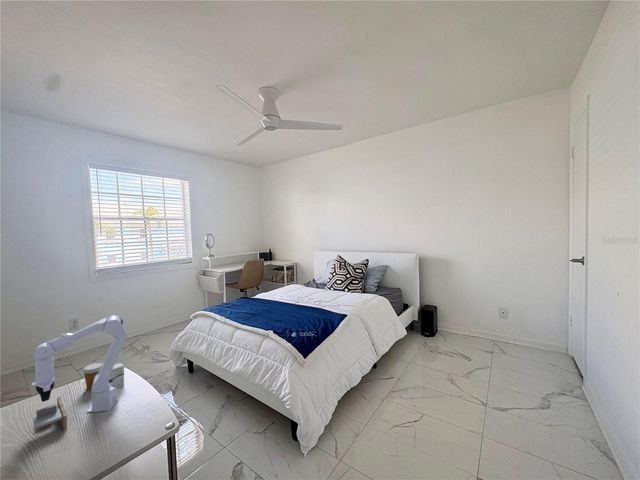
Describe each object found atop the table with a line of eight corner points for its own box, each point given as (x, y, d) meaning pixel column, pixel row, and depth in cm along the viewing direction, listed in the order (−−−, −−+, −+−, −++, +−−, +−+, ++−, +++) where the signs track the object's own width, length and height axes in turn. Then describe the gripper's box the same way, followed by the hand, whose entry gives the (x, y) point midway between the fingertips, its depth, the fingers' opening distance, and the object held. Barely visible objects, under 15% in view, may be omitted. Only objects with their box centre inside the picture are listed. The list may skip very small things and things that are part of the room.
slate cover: (32, 420, 111) (32, 411, 111) (59, 410, 117) (59, 401, 117) (34, 429, 106) (34, 420, 106) (61, 418, 112) (61, 409, 112)
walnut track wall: (57, 409, 125) (57, 397, 125) (60, 408, 126) (60, 396, 125) (63, 430, 112) (63, 416, 112) (66, 428, 113) (66, 415, 113)
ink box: (105, 393, 138) (104, 371, 138) (102, 389, 141) (102, 368, 141) (124, 385, 145) (124, 364, 144) (121, 382, 148) (121, 361, 147)
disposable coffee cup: (109, 384, 146) (109, 363, 145) (88, 393, 137) (88, 371, 137) (99, 380, 150) (99, 359, 149) (79, 389, 141) (78, 367, 141)
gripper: (30, 368, 117) (30, 397, 118) (32, 380, 108) (33, 412, 108) (52, 362, 123) (53, 390, 123) (56, 373, 113) (57, 403, 114)
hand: (45, 400), depth 116 cm, fingers closed
